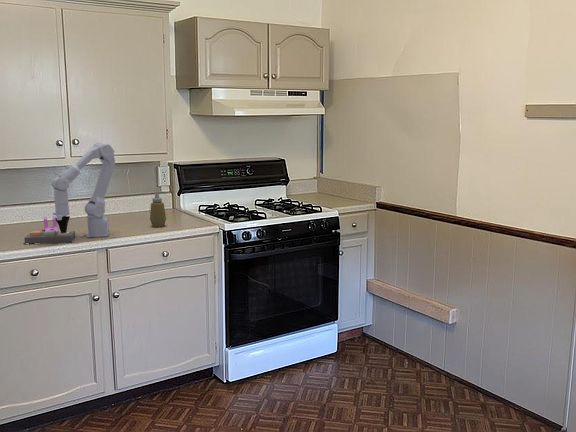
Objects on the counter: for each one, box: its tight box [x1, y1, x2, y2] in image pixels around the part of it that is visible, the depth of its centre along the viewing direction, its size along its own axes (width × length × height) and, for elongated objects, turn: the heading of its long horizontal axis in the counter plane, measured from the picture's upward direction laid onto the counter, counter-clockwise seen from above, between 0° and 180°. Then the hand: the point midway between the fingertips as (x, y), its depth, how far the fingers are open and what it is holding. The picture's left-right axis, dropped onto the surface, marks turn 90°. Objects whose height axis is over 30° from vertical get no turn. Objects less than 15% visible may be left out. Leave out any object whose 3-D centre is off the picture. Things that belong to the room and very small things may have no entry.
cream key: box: [58, 230, 71, 235], centre depth 272 cm, size 4×4×3 cm
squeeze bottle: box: [149, 190, 167, 228], centre depth 302 cm, size 8×8×18 cm
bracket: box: [43, 215, 60, 232], centre depth 290 cm, size 13×6×7 cm, turn 28°
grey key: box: [44, 230, 56, 236], centre depth 271 cm, size 4×4×3 cm
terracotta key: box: [29, 230, 43, 236], centre depth 270 cm, size 4×4×3 cm
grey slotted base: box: [23, 230, 77, 244], centre depth 272 cm, size 20×10×3 cm, turn 99°
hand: (63, 232), depth 272 cm, fingers closed, pressing on cream key
